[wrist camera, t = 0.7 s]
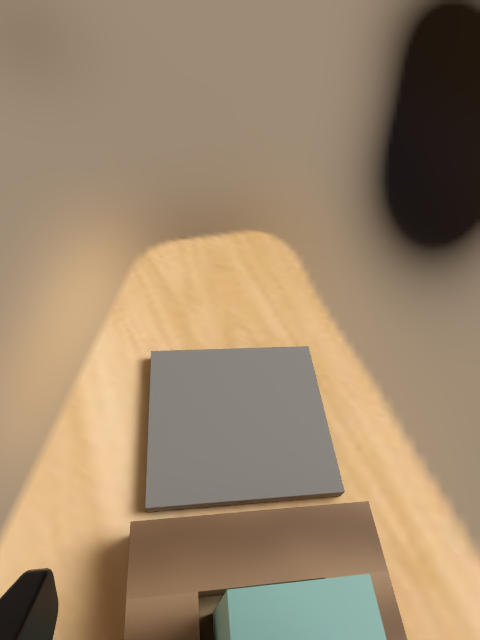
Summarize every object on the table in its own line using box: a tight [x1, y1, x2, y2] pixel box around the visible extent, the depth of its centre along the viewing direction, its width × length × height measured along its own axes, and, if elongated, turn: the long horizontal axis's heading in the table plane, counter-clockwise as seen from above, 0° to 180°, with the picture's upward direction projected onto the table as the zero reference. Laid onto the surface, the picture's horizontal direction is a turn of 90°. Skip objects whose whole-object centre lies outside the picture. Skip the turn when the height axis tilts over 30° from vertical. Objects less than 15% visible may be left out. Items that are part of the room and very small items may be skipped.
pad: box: [145, 346, 344, 512], centre depth 26 cm, size 10×11×1 cm
